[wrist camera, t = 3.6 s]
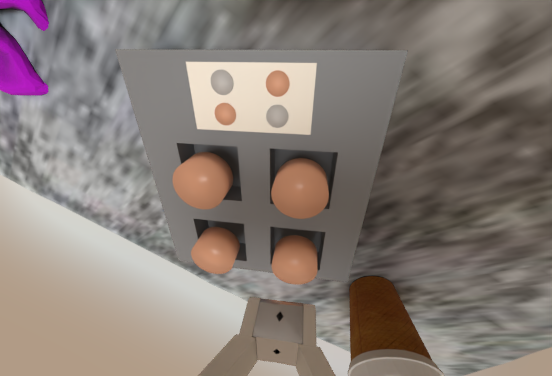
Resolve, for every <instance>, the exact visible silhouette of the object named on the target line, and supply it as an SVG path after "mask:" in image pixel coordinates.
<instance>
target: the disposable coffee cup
mask: <svg viewBox="0 0 552 376" xmlns="http://www.w3.org/2000/svg"><path fill="white" fill-rule="evenodd" d="M349 292H350V347H351V363H350V366H349V370H348V376H444V374H443V372H442V371H441V370H440V369H439V368H438V367H437V365H436V364H435V363H434V362H433V361H432V359H431V357H430V355H429V353H428V351H427V349H426V347H425V346H424V343H423V342H422V340H421V338H420V336H419V334H418V332H417V330H416V328H415V326H414V324H413V323H412V320H411V318H410V317H409V314H408V313H407V311H406V309H405V307H404V305H403V303H402V301H401V300H400V297H399V296H398V294H397V292H396V290H395V288H394V286H393V284H392V283H391V282H390V281H388V280H387V279H384V278H381V277H376V276H368V277H363V278H360V279H357V280H356V281H354V282H353V283H352V284H351V286H350V289H349Z"/></svg>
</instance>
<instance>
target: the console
mask: <svg viewBox="0 0 552 376" xmlns="http://www.w3.org/2000/svg"><path fill="white" fill-rule="evenodd" d="M115 51H116V54H117V57H118V61H119V64H120V67H121V70H122V74H123V77H124V80H125V84H126V87H127V90H128V94H129V97H130V100H131V104H132V107H133V110H134V114H135V117H136V120H137V124H138V127H139V130H140V134H141V137H142V140H143V143H144V147H145V150H146V153H147V157H148V160H149V163H150V167H151V170H152V173H153V177H154V180H155V183H156V187H157V190H158V193H159V197H160V200H161V203H162V206H163V210H164V213H165V216H166V220H167V223H168V226H169V230H170V233H171V236H172V240H173V243H174V246H175V250H176V253H177V256H178V260H179V261H186V262H193V263H195V262H194V261H193V259H192V256H191V250H192V248H193V247H194V245H195V243H196V242H197V240H198V239H199V237H200V236H201V234H202V233H203V231H204V230H206V229H207V228H210V227H221V228H226V229H228V230H230V231H231V232H232V233H233V234H234V235H235V236H236V237H237V239H238V240H239V243H240V249H239V252H238V254H237V257H236V259H235V262H234V264H233V267H232V268H240V269H247V270H255V271H263V272H270V273H273V271H272V267H271V266H272V260H273V255H274V251H275V246H276V244H277V242H278V241H279V240H280V239H282V238H283V237H286V236H291V235H297V236H302V237H305V238H307V239H309V240H310V241H312V242H313V243H314V245H315V246H316V249H317V269H318V270H317V275H316V277H315V278H316V279H324V280H332V281H340V282H348V278H349V274H350V270H351V266H352V262H353V259H354V255H355V251H356V247H357V243H358V240H359V236H360V232H361V228H362V224H363V220H364V217H365V213H366V209H367V205H368V201H369V197H370V194H371V190H372V186H373V182H374V178H375V174H376V171H377V167H378V163H379V159H380V155H381V152H382V148H383V144H384V140H385V136H386V132H387V129H388V125H389V121H390V117H391V113H392V109H393V106H394V102H395V98H396V94H397V90H398V86H399V83H400V79H401V75H402V71H403V67H404V64H405V60H406V56H407V52H408V50H146V49H115ZM199 152H210V153H213V154H216V155H218V156H220V157H221V158H222V159H224V160H225V161H226V162H227V164H228V165H229V167H230V168H231V170H232V174H233V184H232V186H231V188H230V190H229V191H228V193H227V194H226V196H225V197H224V199H223V200H222V202H221V203H220V204H219V205H218V206H216V207H215V208H212V209H198V208H195V207H192V206H190V205H188V204H187V203H185V202H184V201H183V200H182V199H181V198H180V197H179V196H178V194H177V193H176V191H175V189H174V186H173V180H172V179H173V173H174V171H175V170H176V168H177V167H178V166H180V165H181V164H182V163H184V162H185V161H186V160H188V159H189V158H190V157H192V156H193V155H194V154H196V153H199ZM296 158H306V159H310V160H313V161H315V162H316V163H318V164H319V165H320V166H321V167H322V168H323V169H324V171H325V173H326V176H327V183H328V191H329V199H328V202H327V205H326V206H325V208H324V209H323V210H322V211H321V212H320V213H319V214H317V215H315V216H313V217H310V218H306V219H297V218H292V217H289V216H287V215H285V214H283V213H282V212H280V211H279V210H278V209H277V208H276V206H275V205H274V203H273V200H272V196H271V191H272V187H273V184H274V181H275V178H276V174H277V172H278V170H279V168H280V167H281V166H282V165H283V164H284V163H286V162H287V161H289V160H292V159H296Z"/></svg>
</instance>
